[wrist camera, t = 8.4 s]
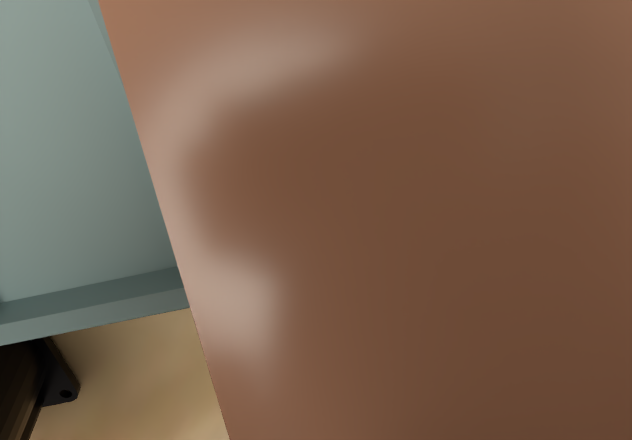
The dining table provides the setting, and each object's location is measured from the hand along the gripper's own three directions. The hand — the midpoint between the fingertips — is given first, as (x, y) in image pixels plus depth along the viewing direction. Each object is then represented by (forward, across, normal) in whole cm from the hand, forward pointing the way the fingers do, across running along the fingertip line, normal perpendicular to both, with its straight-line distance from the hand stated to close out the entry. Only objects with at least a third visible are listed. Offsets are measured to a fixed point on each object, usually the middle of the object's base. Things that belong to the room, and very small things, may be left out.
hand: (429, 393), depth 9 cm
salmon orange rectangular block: (+1, 0, -4) cm, 4 cm away
